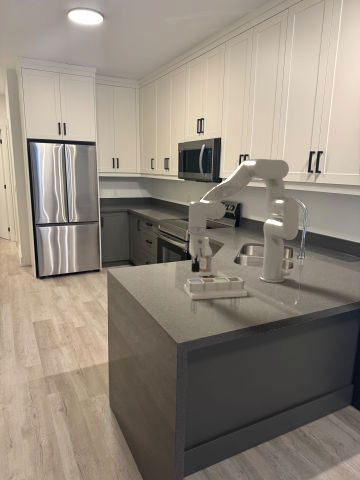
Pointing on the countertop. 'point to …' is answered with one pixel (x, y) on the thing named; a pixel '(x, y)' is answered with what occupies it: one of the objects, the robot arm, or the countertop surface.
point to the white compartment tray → (215, 288)
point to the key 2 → (220, 280)
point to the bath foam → (206, 260)
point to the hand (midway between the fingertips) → (195, 271)
